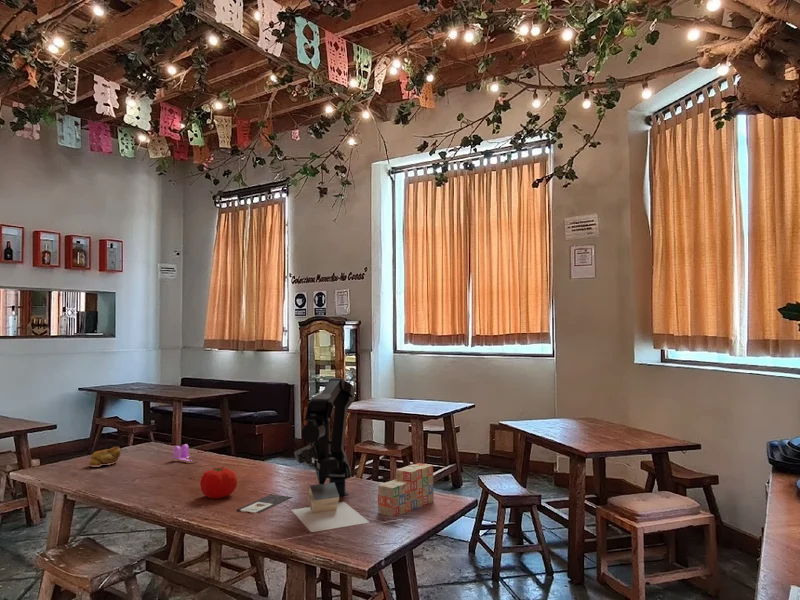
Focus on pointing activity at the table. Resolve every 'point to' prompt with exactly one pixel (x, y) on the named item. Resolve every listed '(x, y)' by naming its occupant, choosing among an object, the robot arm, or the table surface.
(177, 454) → the purple twin post stand
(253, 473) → the table surface
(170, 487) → the table surface
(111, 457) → the bread roll
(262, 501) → the chocolate bar
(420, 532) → the table surface
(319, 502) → the beech block
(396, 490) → the stack of blocks
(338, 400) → the robot arm
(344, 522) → the rubber mat
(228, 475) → the tomato
